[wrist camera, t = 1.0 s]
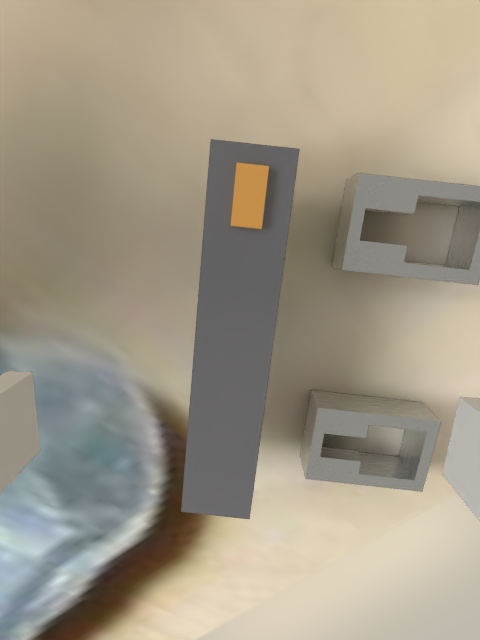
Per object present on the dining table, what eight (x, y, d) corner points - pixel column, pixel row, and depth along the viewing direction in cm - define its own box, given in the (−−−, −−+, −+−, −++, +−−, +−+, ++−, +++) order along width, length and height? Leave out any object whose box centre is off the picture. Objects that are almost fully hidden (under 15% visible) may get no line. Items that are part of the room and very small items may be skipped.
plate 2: (331, 265, 26) (341, 270, 24) (346, 179, 25) (358, 172, 22) (453, 279, 26) (478, 285, 24) (474, 193, 25) (504, 188, 22)
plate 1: (300, 455, 30) (305, 478, 27) (311, 389, 29) (317, 407, 26) (405, 466, 30) (422, 491, 27) (422, 402, 29) (441, 421, 26)
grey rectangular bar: (197, 443, 30) (180, 516, 23) (222, 166, 25) (209, 137, 17) (249, 449, 30) (249, 524, 23) (285, 173, 25) (300, 147, 17)
